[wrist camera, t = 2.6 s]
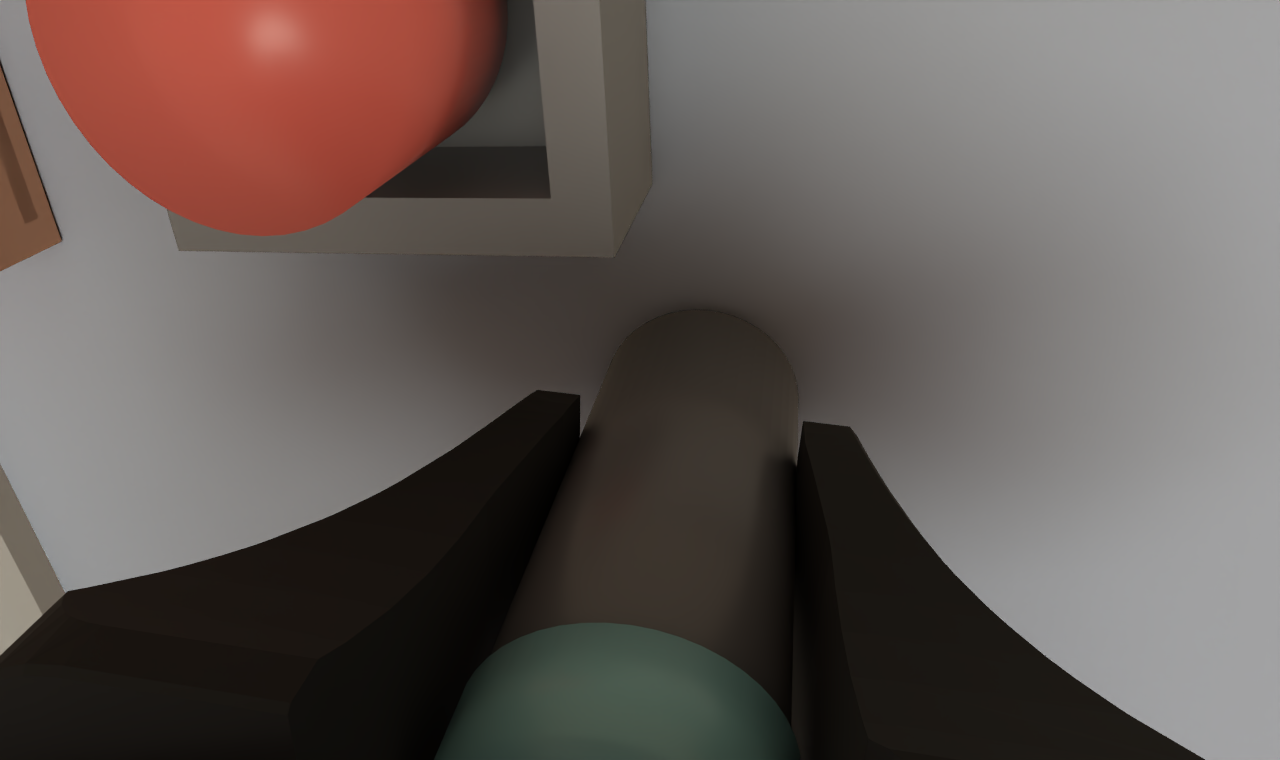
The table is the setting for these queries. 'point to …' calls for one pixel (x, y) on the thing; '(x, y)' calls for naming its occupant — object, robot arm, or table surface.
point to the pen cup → (20, 192)
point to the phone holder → (21, 570)
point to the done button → (267, 96)
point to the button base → (513, 154)
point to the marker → (658, 568)
